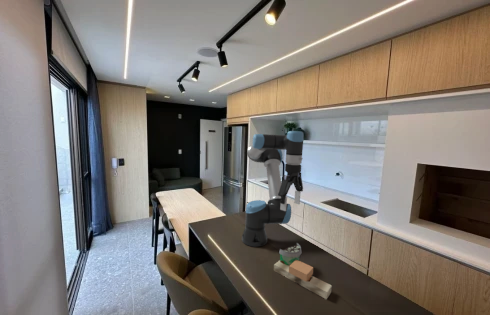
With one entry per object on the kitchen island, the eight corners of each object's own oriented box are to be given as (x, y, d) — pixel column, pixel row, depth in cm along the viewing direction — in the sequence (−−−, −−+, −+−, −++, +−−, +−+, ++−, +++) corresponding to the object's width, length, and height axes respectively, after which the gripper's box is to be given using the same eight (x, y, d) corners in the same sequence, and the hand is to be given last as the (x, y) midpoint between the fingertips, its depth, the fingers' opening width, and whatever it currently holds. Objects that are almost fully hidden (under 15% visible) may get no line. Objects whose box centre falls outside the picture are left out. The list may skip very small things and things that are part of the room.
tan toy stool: (288, 280, 87) (289, 265, 86) (295, 273, 92) (296, 259, 91) (305, 289, 81) (306, 274, 81) (312, 281, 86) (313, 267, 86)
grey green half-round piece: (287, 277, 89) (288, 255, 88) (277, 269, 94) (279, 249, 93) (306, 268, 96) (307, 248, 95) (296, 261, 101) (297, 242, 100)
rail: (273, 270, 93) (274, 264, 92) (279, 265, 96) (279, 259, 96) (326, 299, 77) (327, 292, 76) (331, 292, 80) (331, 285, 80)
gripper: (287, 167, 84) (283, 215, 86) (311, 162, 103) (308, 202, 105) (272, 164, 89) (269, 211, 91) (298, 161, 108) (295, 199, 110)
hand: (290, 206), depth 98 cm, fingers open, 13 cm apart
